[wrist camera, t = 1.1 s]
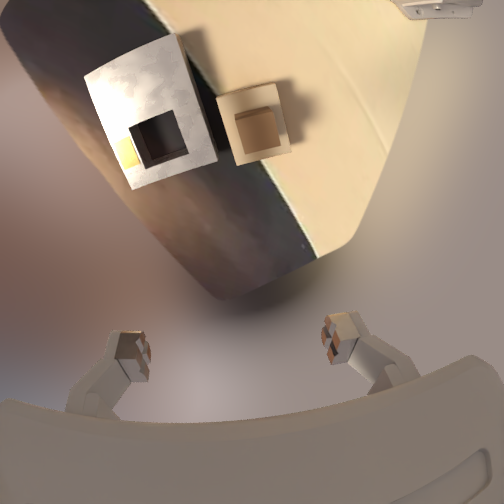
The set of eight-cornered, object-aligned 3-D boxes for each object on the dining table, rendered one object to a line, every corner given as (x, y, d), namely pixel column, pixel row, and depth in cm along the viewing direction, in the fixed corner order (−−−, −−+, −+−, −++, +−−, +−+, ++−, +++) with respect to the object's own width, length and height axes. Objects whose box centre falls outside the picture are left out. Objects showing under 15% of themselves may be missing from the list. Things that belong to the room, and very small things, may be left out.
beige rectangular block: (271, 82, 29) (275, 83, 27) (287, 145, 35) (291, 152, 33) (217, 96, 30) (215, 98, 28) (236, 158, 36) (236, 165, 33)
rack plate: (180, 35, 24) (174, 32, 22) (218, 152, 35) (217, 161, 32) (95, 74, 26) (83, 76, 23) (139, 179, 36) (132, 190, 33)
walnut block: (267, 105, 29) (272, 111, 26) (275, 136, 31) (281, 145, 28) (234, 114, 29) (234, 120, 26) (243, 144, 32) (245, 154, 28)
